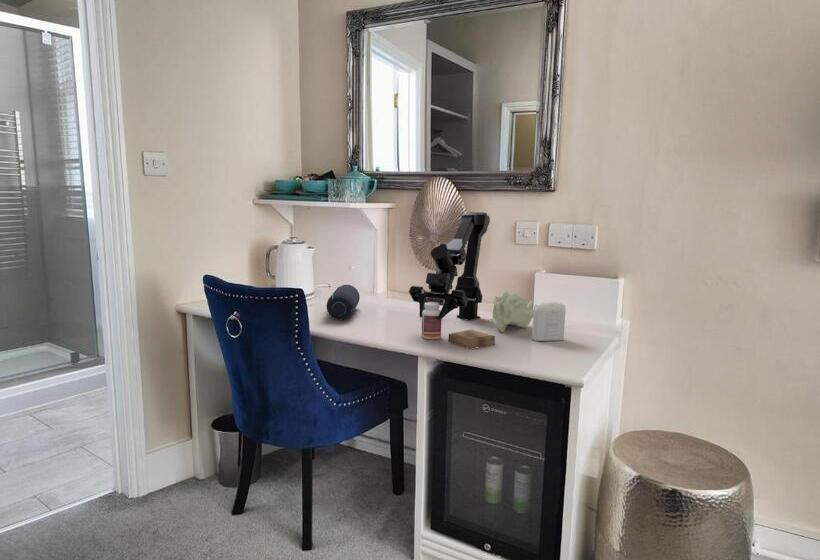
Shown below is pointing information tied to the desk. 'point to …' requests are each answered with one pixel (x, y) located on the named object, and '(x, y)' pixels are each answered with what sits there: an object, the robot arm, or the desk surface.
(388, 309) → the desk surface
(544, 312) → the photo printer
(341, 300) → the portable speaker
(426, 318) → the pill bottle
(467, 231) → the robot arm
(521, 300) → the wavy plaster lump
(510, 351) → the desk surface
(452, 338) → the plinth
